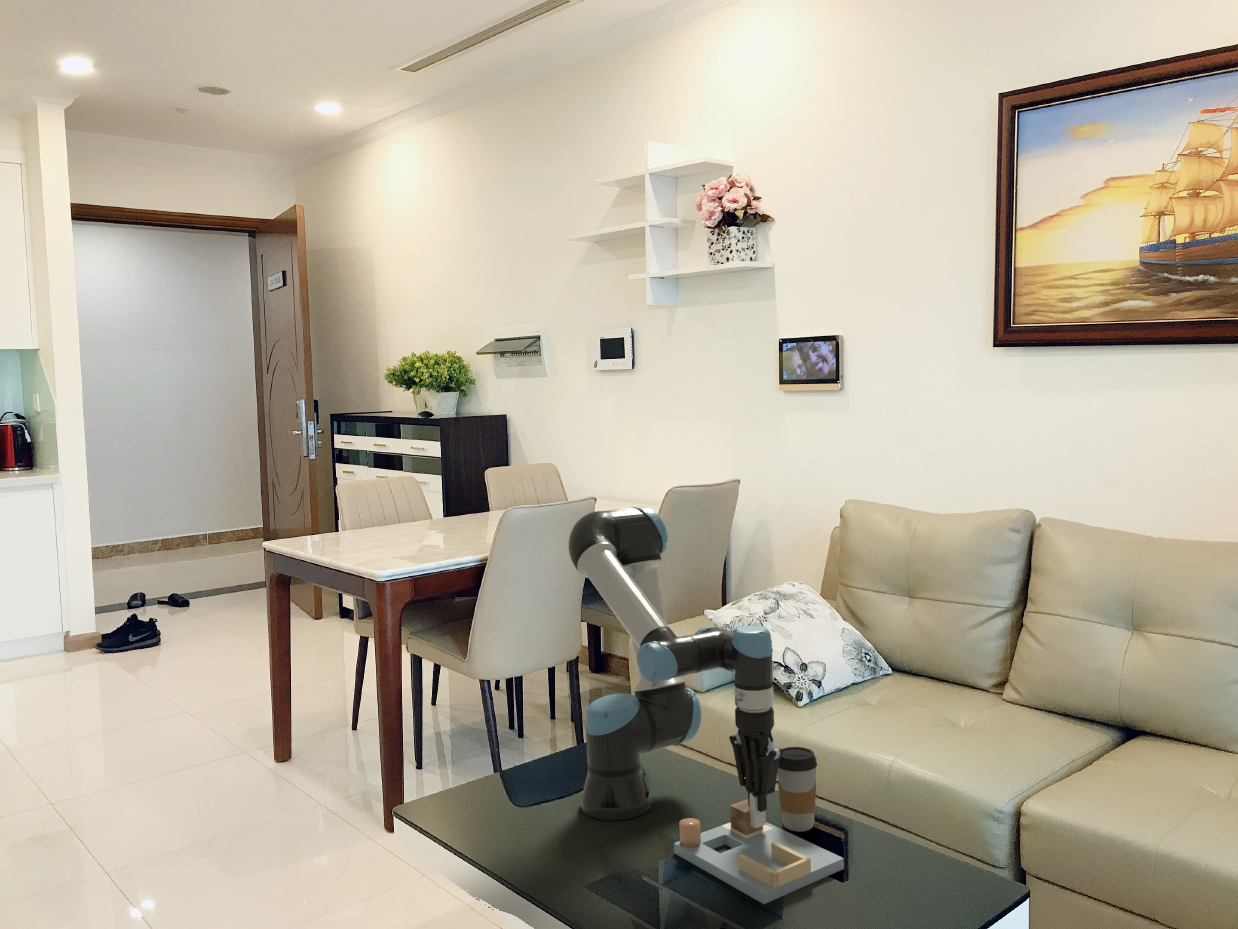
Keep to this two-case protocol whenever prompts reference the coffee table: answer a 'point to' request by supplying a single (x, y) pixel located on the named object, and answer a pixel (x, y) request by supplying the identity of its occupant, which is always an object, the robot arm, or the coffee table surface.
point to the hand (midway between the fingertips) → (758, 825)
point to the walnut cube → (742, 818)
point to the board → (761, 860)
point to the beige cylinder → (690, 832)
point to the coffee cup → (797, 788)
